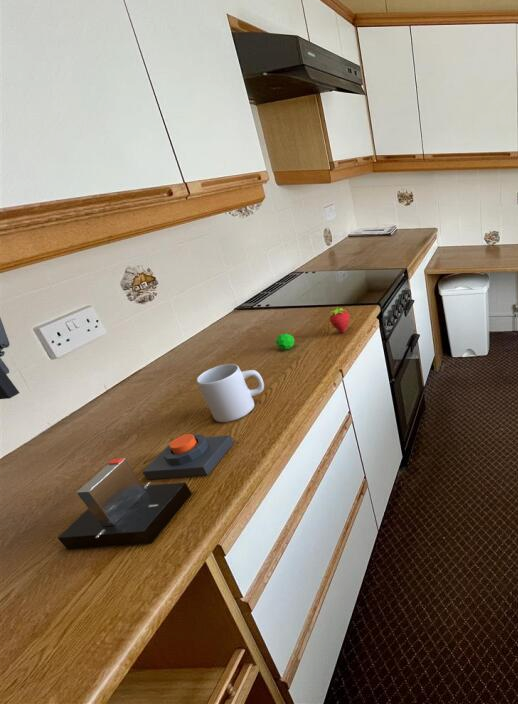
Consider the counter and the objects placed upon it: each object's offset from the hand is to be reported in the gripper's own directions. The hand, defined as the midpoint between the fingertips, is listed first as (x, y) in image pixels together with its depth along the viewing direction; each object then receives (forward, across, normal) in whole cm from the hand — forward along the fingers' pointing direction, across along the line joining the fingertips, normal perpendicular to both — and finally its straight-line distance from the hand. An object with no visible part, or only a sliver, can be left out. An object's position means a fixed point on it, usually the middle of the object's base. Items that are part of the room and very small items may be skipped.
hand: (6, 396), depth 66 cm
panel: (+24, -5, -13) cm, 28 cm away
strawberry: (+25, +64, -27) cm, 74 cm away
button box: (+24, +9, -14) cm, 30 cm away
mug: (+25, +26, -15) cm, 39 cm away
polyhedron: (+25, +56, -12) cm, 62 cm away
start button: (+21, +9, -14) cm, 27 cm away
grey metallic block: (+21, -5, -13) cm, 25 cm away
